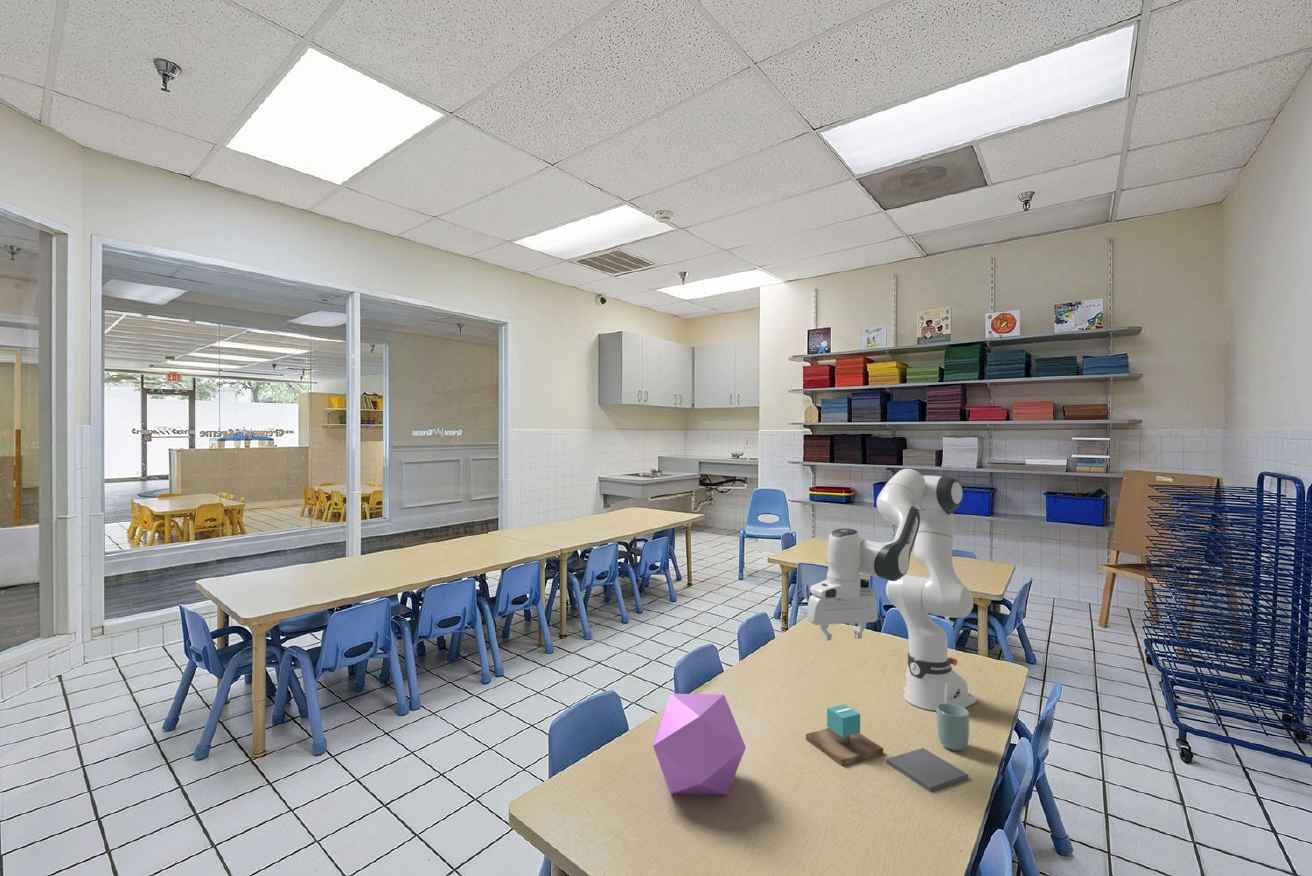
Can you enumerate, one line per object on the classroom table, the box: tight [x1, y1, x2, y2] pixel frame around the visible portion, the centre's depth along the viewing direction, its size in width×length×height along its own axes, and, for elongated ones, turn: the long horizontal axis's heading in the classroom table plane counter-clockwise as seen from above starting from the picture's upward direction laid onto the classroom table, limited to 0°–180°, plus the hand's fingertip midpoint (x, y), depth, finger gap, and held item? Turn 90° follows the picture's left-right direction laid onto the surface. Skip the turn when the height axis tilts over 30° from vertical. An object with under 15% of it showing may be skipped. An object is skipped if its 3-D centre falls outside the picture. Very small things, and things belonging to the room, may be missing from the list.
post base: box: [805, 727, 884, 767], centre depth 150 cm, size 14×14×8 cm
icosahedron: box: [652, 693, 747, 796], centre depth 133 cm, size 22×21×25 cm
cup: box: [936, 703, 970, 752], centre depth 150 cm, size 8×8×10 cm
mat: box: [886, 747, 969, 792], centre depth 139 cm, size 13×13×1 cm
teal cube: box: [826, 704, 861, 737], centre depth 150 cm, size 6×6×5 cm
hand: (842, 639), depth 153 cm, fingers open, 8 cm apart
